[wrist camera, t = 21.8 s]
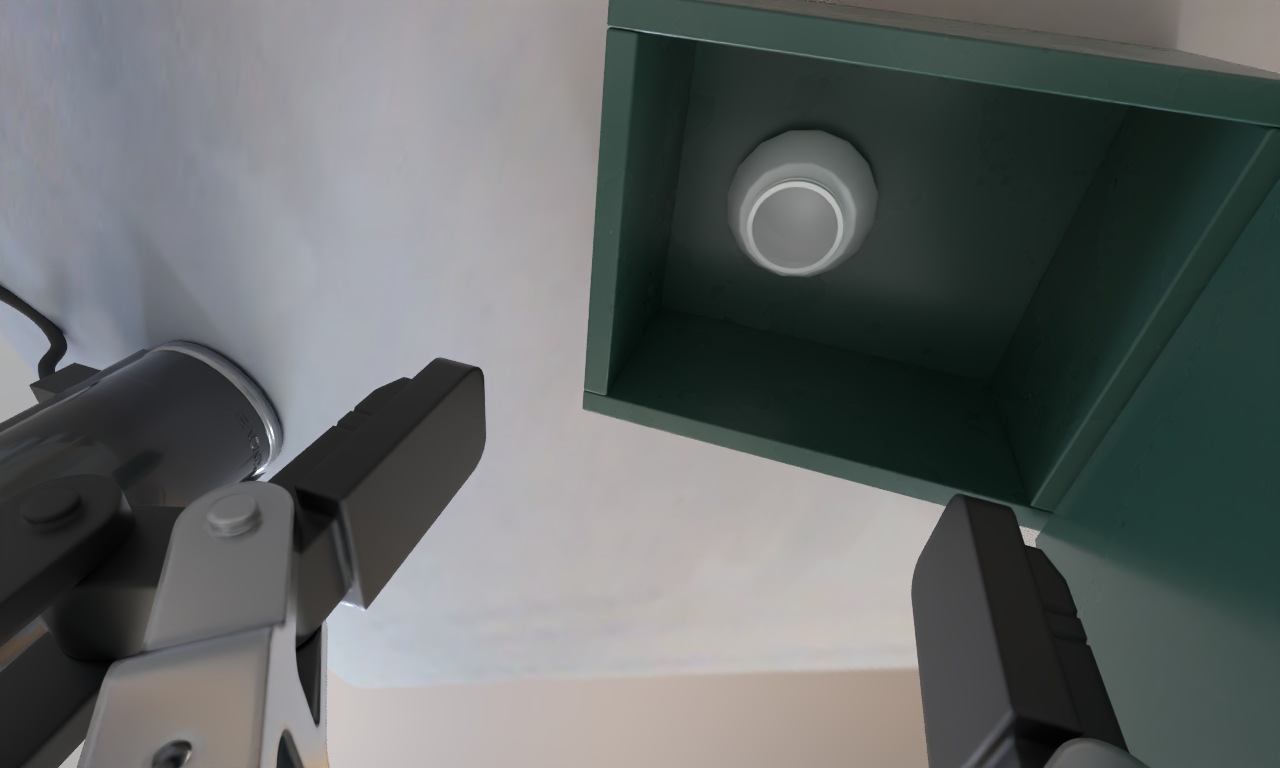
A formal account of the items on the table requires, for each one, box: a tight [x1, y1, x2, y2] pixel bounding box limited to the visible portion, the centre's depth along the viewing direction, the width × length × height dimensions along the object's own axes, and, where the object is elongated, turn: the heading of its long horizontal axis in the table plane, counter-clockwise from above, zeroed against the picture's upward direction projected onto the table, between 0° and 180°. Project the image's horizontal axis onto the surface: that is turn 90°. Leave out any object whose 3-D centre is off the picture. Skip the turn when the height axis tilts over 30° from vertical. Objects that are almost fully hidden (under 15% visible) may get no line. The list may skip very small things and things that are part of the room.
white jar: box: [727, 130, 878, 277], centre depth 21 cm, size 5×3×5 cm
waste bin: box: [583, 0, 1280, 531], centre depth 20 cm, size 15×12×8 cm
